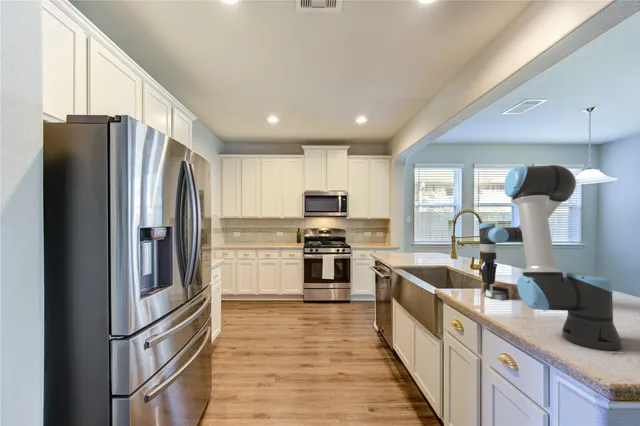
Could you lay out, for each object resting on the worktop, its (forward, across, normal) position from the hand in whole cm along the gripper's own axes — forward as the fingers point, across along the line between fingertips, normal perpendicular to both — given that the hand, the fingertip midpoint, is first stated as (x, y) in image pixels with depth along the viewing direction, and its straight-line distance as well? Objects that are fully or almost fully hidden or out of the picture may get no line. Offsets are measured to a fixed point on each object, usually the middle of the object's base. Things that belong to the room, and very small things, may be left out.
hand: (489, 295), depth 152 cm
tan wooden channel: (+1, +10, 0) cm, 10 cm away
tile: (+2, +7, -1) cm, 7 cm away
